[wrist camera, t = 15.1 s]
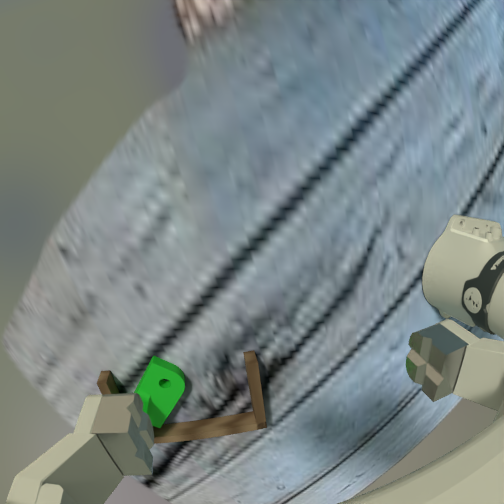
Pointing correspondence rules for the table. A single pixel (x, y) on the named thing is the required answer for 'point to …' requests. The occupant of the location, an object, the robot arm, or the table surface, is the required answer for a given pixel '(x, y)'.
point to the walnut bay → (208, 426)
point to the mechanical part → (160, 389)
